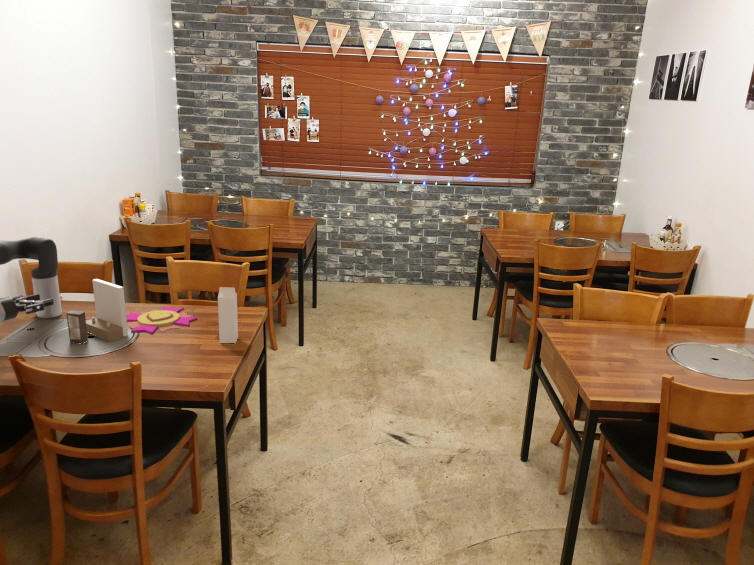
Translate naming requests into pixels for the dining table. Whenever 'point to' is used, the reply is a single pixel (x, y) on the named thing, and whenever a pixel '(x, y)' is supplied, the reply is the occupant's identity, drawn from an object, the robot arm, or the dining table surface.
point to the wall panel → (108, 311)
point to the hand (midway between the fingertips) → (46, 299)
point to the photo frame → (77, 326)
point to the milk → (227, 315)
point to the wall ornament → (159, 320)
